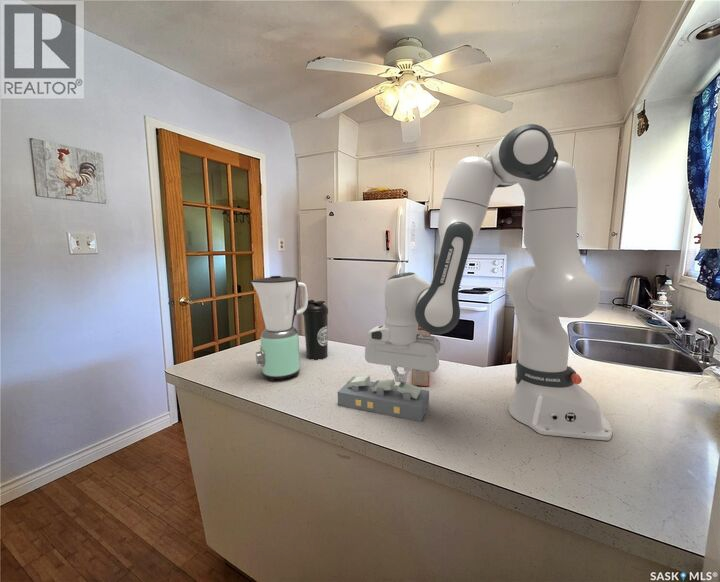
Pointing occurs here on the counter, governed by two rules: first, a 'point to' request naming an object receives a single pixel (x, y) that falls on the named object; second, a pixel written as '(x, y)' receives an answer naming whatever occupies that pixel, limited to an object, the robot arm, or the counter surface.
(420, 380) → the cracker box
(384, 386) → the switch
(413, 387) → the switch
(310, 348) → the water bottle
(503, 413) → the counter surface
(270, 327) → the blender
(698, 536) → the counter surface
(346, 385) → the switch unit
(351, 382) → the switch
